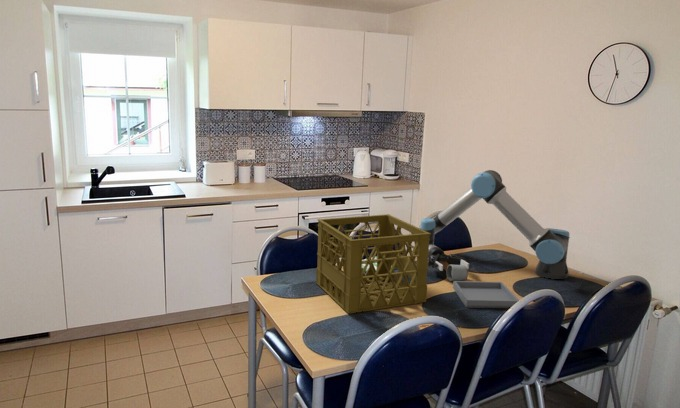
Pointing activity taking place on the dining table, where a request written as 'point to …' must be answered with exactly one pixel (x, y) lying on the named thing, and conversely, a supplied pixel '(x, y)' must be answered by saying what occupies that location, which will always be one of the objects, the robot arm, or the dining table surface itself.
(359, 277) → the milk crate
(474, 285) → the tray
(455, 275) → the ceramic mug
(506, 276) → the dining table surface
